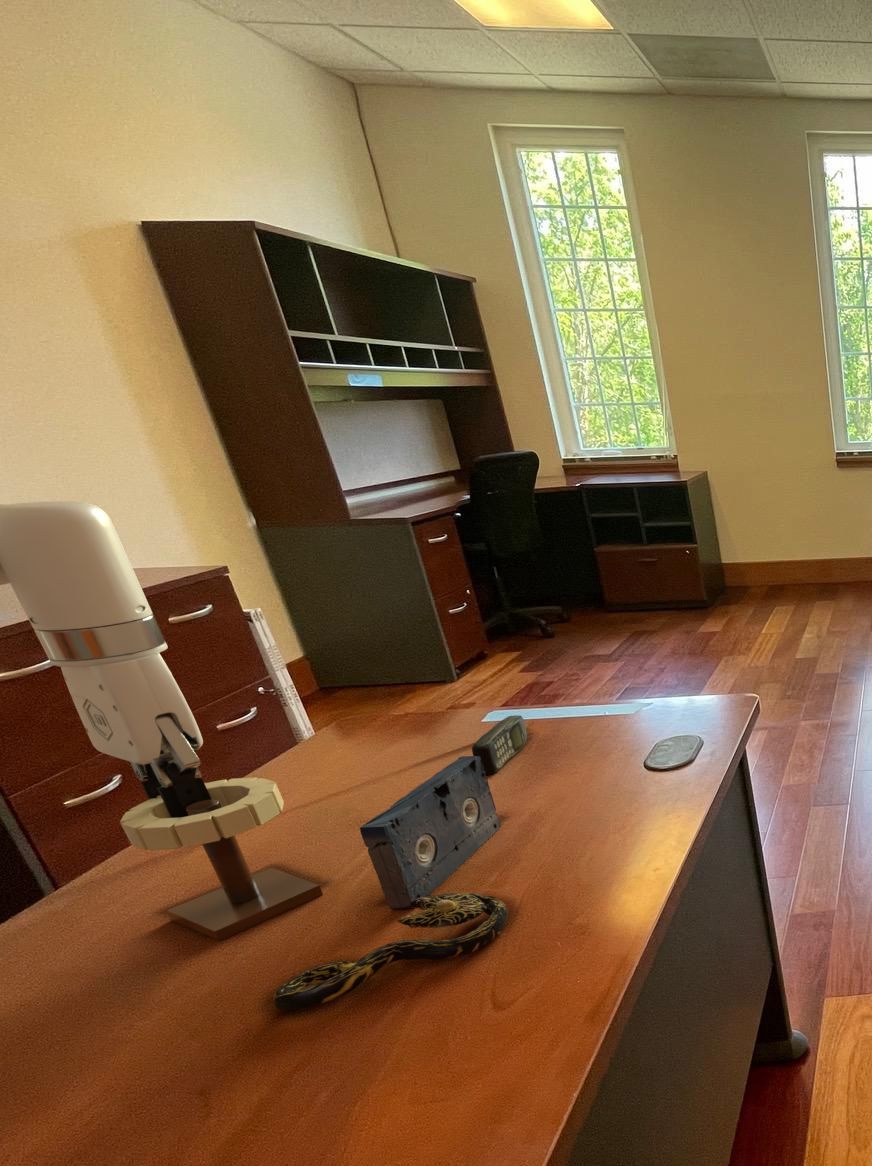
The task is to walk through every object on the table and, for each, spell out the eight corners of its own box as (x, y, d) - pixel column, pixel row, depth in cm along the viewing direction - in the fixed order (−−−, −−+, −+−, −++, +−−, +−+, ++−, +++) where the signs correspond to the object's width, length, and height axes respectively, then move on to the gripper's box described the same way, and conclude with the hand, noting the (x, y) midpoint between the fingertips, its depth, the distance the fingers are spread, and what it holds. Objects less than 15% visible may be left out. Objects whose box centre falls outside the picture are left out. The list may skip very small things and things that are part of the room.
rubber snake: (256, 979, 65) (267, 931, 72) (274, 1026, 66) (283, 974, 74) (509, 908, 76) (496, 872, 83) (520, 950, 77) (506, 911, 84)
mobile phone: (488, 745, 111) (528, 707, 125) (465, 747, 111) (507, 708, 124) (498, 777, 113) (536, 735, 127) (475, 778, 113) (515, 737, 126)
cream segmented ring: (109, 836, 77) (97, 814, 76) (247, 790, 86) (238, 770, 85) (168, 859, 73) (157, 837, 72) (306, 809, 82) (298, 788, 81)
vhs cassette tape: (481, 826, 99) (460, 755, 95) (506, 826, 100) (485, 754, 96) (384, 911, 83) (352, 828, 79) (413, 910, 83) (384, 827, 79)
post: (171, 919, 81) (117, 815, 76) (275, 876, 89) (232, 779, 84) (219, 941, 78) (167, 833, 73) (323, 894, 85) (282, 794, 81)
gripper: (5, 641, 73) (98, 815, 80) (91, 661, 67) (182, 847, 75) (115, 622, 79) (192, 786, 87) (202, 639, 74) (276, 813, 81)
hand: (186, 812), depth 81 cm, fingers closed on cream segmented ring, 2 cm apart
